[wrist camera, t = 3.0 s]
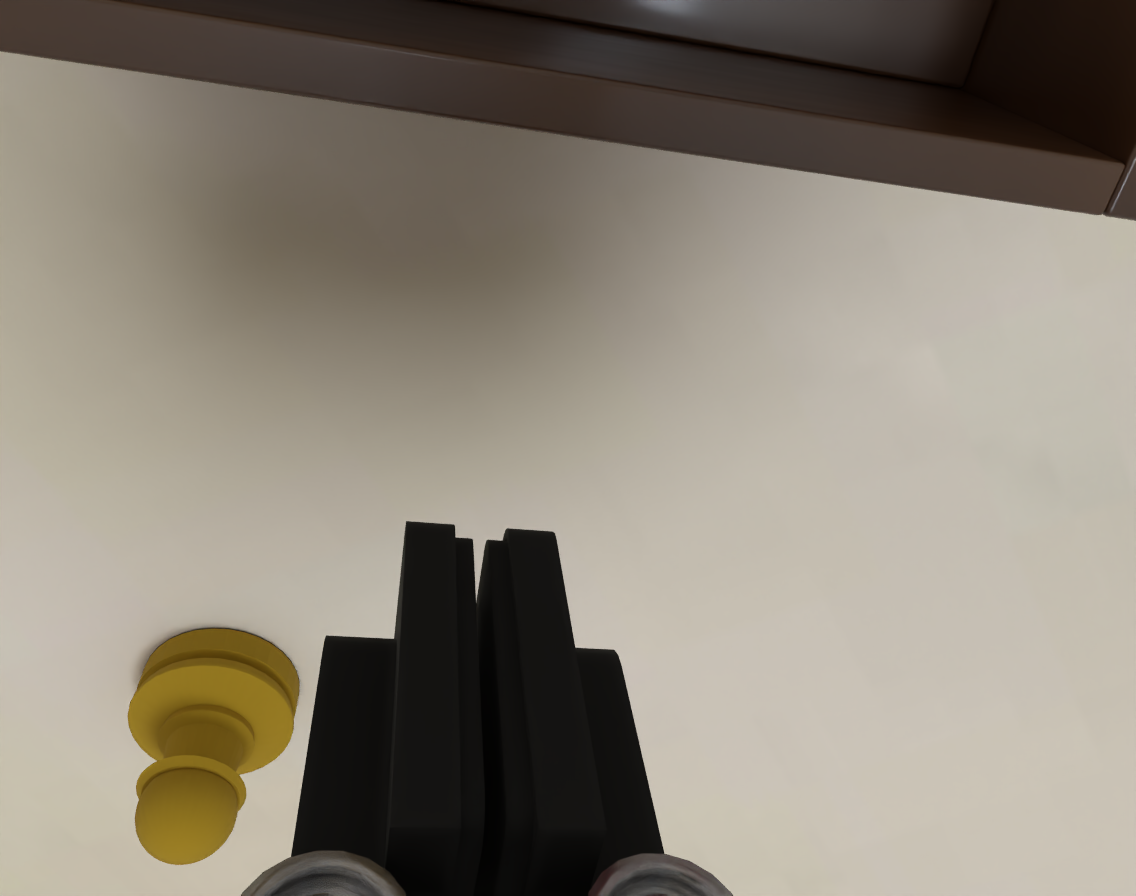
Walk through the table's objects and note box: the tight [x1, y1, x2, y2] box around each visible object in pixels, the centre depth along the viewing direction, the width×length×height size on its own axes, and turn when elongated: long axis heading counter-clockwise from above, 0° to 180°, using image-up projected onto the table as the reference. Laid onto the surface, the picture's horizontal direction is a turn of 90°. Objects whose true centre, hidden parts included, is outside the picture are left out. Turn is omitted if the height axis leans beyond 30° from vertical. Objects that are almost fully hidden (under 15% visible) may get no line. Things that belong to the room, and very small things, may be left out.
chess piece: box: [128, 628, 299, 865], centre depth 23 cm, size 4×4×5 cm
